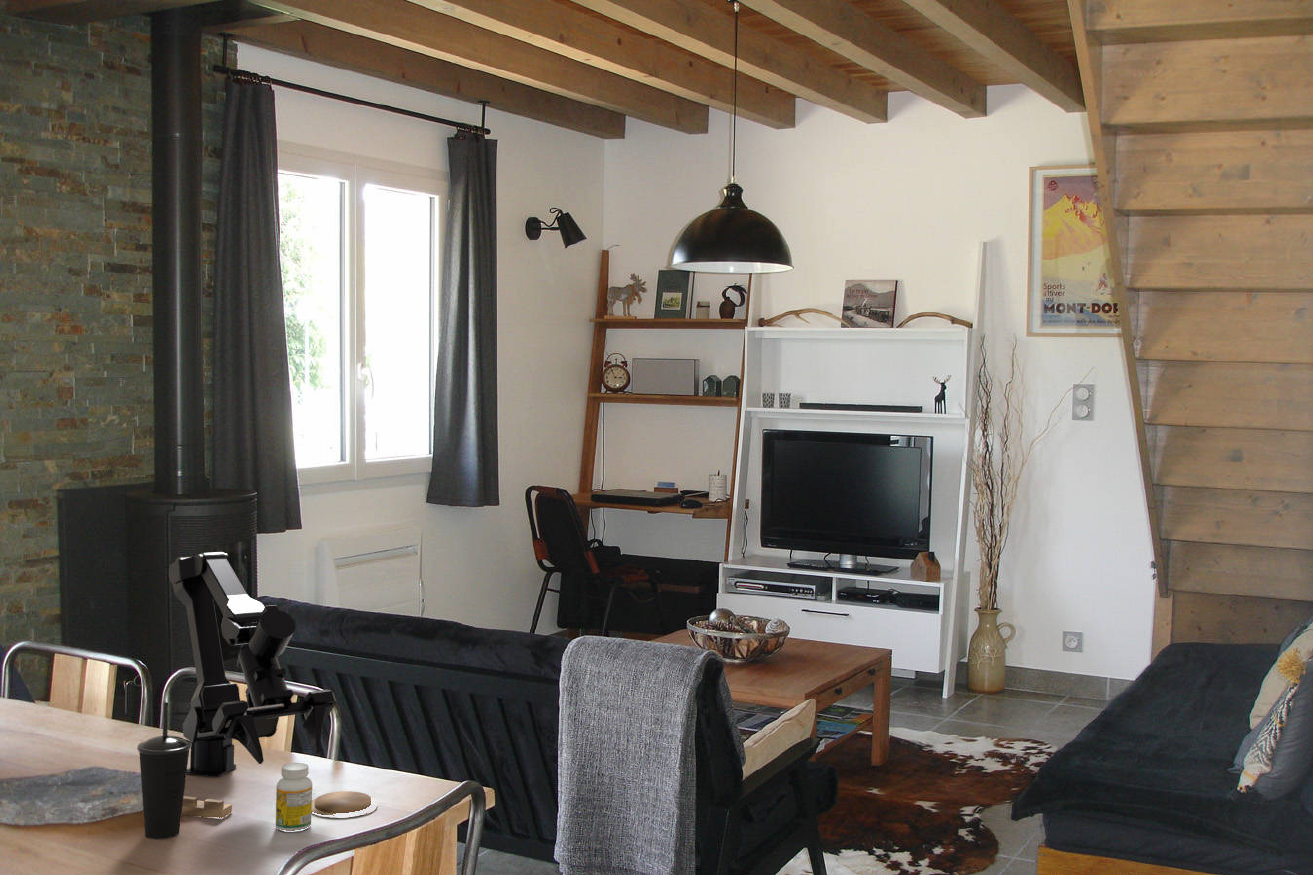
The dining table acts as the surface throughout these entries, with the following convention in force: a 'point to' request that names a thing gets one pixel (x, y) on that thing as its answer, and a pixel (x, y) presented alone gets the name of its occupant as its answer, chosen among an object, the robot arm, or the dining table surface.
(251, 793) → the dining table surface
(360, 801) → the base
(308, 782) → the supplement bottle
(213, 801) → the notched board
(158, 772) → the drinking cup
